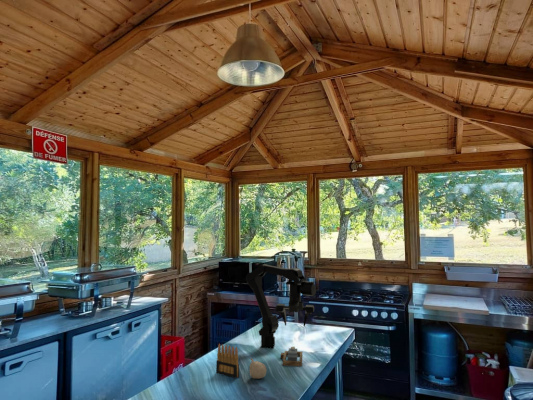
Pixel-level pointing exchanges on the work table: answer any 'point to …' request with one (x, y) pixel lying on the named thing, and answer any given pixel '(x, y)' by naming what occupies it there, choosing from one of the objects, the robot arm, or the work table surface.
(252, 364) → the garlic bulb
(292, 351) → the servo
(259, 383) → the work table surface
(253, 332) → the work table surface
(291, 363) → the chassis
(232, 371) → the ammunition clip
